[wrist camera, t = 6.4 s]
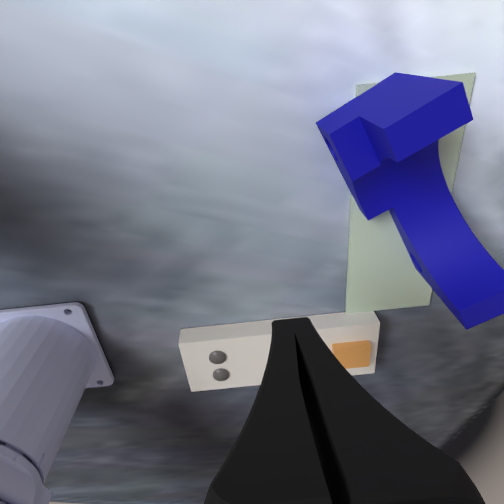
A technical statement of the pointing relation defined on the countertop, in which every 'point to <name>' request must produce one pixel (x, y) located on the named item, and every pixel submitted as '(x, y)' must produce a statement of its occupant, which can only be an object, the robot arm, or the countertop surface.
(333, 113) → the cable clip
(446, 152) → the mat
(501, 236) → the countertop surface
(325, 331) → the power strip
